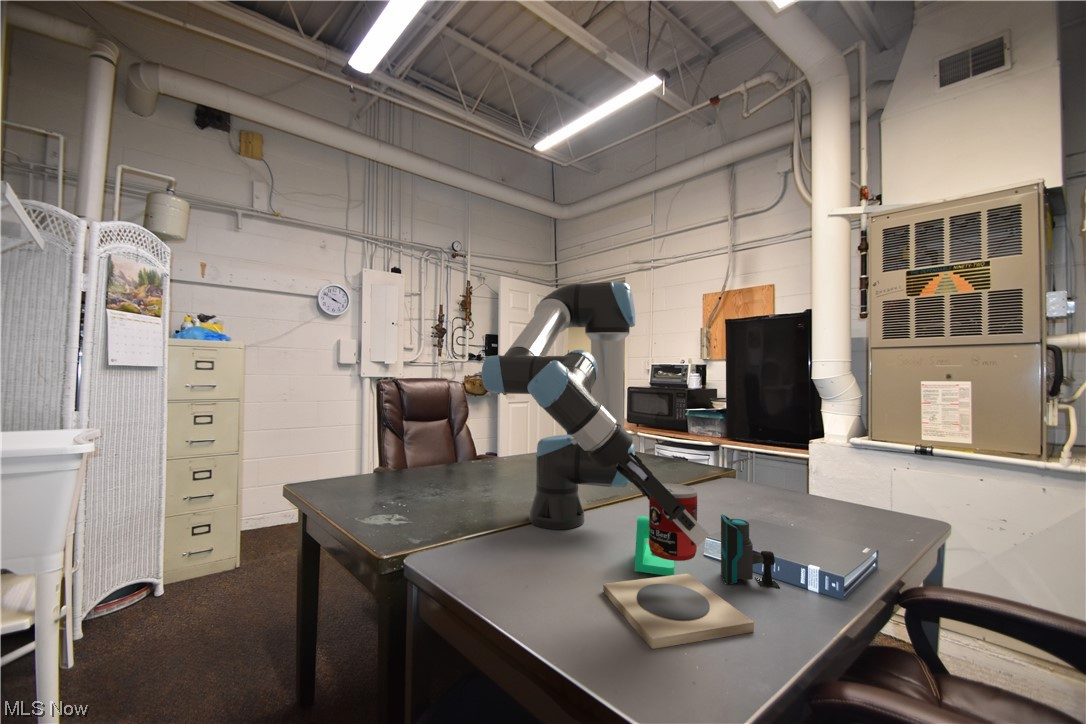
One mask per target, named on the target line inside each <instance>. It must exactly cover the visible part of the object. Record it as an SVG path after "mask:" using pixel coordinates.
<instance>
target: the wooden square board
mask: <svg viewBox="0 0 1086 724" xmlns="http://www.w3.org/2000/svg"><path fill="white" fill-rule="evenodd" d="M603 591H604V592H603ZM602 592H603V593H604V595H605V594H606V595H607V596H608V597H609V598H608V597H607V596H606V595H605V596H606V597H607V598H608V599H609V601H610V602H611V601H612V602H613V603H614V604H613V603H612V602H611V603H612V604H613V605H614V607H616V608H618V609H617V610H618V611H619V612H620V614H622V615H624V616H623V617H624V618H625V619H626V621H628V622H629V624H630V625H631V626H632V628H633V629H634V630H635V631H636V632H637V633H638V634H639V635H640V637H641V638H642V639H643V640H644V641H645V643H646V644H647V645H648V646H649V647H650V648H651V649H652V650H654V649H659V648H661V649H662V648H666V647H673V646H679V645H683V644H691V643H696V642H701V641H706V640H707V641H708V640H713V639H714V640H715V639H718V638H719V639H720V638H725V637H730V636H737V635H742V634H743V635H744V634H748V633H755V622H754V621H753V620H752V619H750V618H749V617H747V616H746V615H745V614H743V613H742V612H741V611H739V610H738V609H737V608H735V607H734V606H733V605H731V604H730V603H729V602H727V601H726V600H725V599H724V598H722V597H720V596H719V595H718V594H716V593H715V592H714V591H712V590H711V589H709V588H708V587H707V586H705V585H704V584H703V583H701V582H700V581H699V580H697V579H696V578H694V577H693V576H692V575H690V574H689V573H681V574H674V575H671V576H667V575H662V576H656V577H649V578H640V579H639V578H638V579H631V580H624V581H615V582H607V583H603V585H602Z"/></svg>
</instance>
